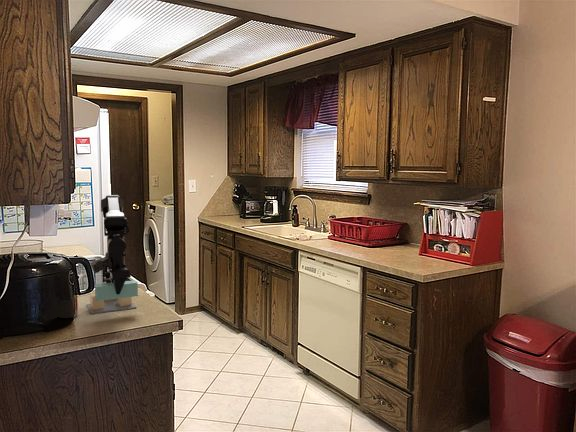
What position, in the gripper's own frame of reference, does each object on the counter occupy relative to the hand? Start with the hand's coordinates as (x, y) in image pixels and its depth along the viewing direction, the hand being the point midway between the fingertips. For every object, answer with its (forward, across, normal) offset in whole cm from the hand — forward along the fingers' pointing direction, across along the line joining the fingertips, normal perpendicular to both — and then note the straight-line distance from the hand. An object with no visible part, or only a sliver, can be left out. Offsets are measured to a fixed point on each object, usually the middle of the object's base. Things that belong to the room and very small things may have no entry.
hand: (116, 292), depth 175 cm
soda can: (+8, -6, -16) cm, 19 cm away
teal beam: (+2, 0, 0) cm, 2 cm away
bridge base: (+8, -11, 0) cm, 14 cm away
